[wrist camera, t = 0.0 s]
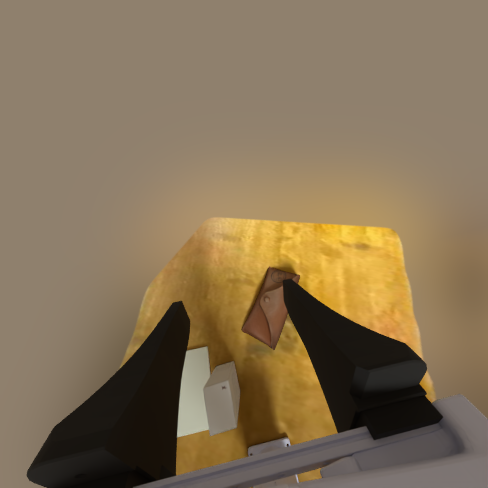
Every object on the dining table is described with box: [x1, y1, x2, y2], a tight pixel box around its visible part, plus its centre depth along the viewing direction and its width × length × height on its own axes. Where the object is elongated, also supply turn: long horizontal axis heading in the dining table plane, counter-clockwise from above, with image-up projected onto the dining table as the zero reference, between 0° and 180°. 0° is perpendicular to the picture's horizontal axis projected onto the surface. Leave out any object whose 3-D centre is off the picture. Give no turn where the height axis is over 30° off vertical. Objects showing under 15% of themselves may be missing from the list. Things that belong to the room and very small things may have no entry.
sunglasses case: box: [242, 267, 300, 350], centre depth 42 cm, size 18×7×7 cm, turn 156°
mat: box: [177, 346, 211, 437], centre depth 36 cm, size 14×14×1 cm
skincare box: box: [203, 361, 240, 436], centre depth 32 cm, size 6×4×12 cm
